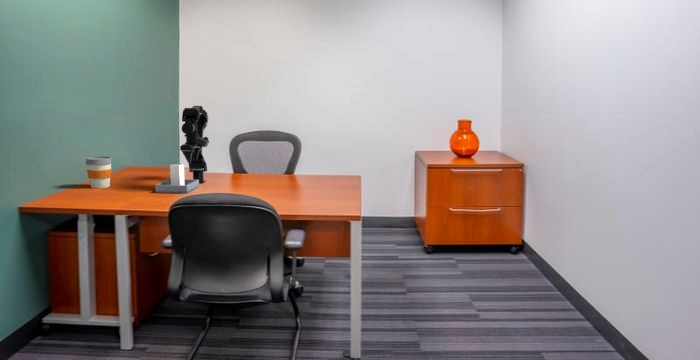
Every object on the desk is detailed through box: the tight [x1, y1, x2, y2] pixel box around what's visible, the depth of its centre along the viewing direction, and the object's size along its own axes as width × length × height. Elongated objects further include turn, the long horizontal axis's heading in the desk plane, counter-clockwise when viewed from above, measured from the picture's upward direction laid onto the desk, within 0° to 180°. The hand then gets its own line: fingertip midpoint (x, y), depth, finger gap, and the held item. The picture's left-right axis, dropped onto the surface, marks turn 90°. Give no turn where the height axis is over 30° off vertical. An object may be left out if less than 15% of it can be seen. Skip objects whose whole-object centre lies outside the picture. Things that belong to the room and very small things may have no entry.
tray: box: [154, 178, 200, 195], centre depth 311 cm, size 18×16×4 cm
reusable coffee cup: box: [85, 156, 113, 189], centre depth 317 cm, size 13×13×15 cm
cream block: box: [169, 163, 185, 185], centre depth 310 cm, size 5×5×12 cm
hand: (192, 162), depth 317 cm, fingers open, 9 cm apart
